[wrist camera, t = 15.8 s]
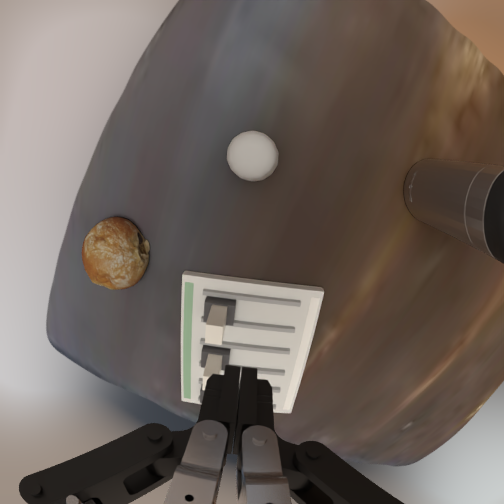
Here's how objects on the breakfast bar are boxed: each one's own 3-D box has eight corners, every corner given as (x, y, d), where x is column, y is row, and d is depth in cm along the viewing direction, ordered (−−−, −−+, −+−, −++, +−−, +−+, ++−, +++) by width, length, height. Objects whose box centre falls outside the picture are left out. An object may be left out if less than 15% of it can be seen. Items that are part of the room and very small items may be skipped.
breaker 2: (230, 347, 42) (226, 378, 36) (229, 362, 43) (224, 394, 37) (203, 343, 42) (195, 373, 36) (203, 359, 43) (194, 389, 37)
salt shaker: (248, 188, 37) (242, 203, 25) (221, 152, 36) (201, 148, 23) (286, 162, 36) (301, 164, 24) (259, 125, 35) (260, 107, 22)
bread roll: (161, 263, 44) (165, 270, 37) (107, 298, 42) (101, 312, 34) (128, 206, 42) (125, 202, 34) (73, 243, 39) (59, 246, 32)
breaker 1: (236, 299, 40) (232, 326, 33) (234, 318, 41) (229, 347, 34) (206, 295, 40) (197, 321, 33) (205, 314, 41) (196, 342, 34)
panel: (322, 287, 41) (325, 294, 39) (290, 407, 48) (291, 416, 46) (185, 270, 41) (180, 276, 38) (183, 395, 48) (180, 403, 46)
